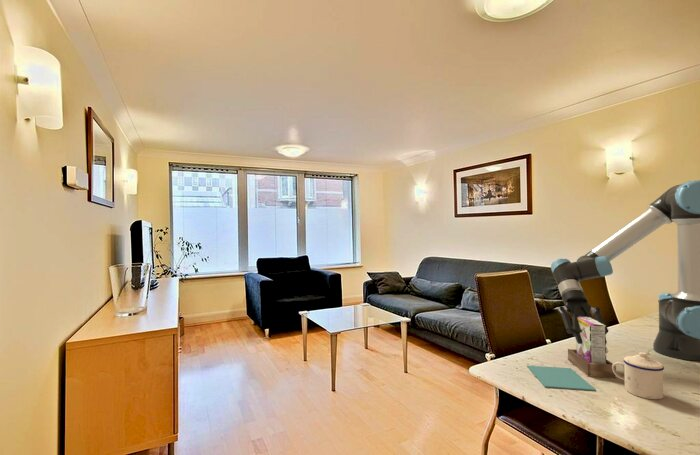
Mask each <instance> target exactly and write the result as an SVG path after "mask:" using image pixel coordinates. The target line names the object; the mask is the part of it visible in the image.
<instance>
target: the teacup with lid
mask: <svg viewBox="0 0 700 455" xmlns="http://www.w3.org/2000/svg"><path fill="white" fill-rule="evenodd" d="M618 365H619V366H623V367H624V369H623V370H624V376H623V375H621V374H619V373H618V371H617V368H616V369H615V366H618ZM664 369H665V367H664V365H663V364H662V363H661V362H659V361H657V360H654V359H653V358H652V357H650V356H648V353H647V352H642V351H640V352H638V354H635V355H628V356H625V357H624V358H623V362H621V361H615V362H613V365H612V370H613V373H614V374H615V375H616V378H618V379H620V380H623V381H624V390H626V391H627V392H628V393H630V394H631V395H634V396H636V397H640V398H642V399H648V400H662V399H663V398H664Z"/></svg>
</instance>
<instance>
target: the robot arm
mask: <svg viewBox="0 0 700 455" xmlns="http://www.w3.org/2000/svg"><path fill="white" fill-rule="evenodd" d="M672 223H674V224H676V230H677V232H676V233H677V234H676V236H677V237H676V238H677V239H676V241H677V242H676V243H677V248H676V249H677V251H676V252H677V292H675V293H670V292H669V293H668V292H661V293H659V295H658V299H657V303H658V331H657V334H656V336H655V339H654V341H653V343H652V344H653V348H652V349H653V350H654V352H656V353H658V354H661V355H664V356H666V357H667V356H668V357H670V358H675V359H681V360H687V361H694V362H696V361H700V179H699V180H688V181H686V182H683V183H681V184H677V185H674V186H672V187H670V188H669V189H667V190H666V191H664V192H663V193H662V194H661V195H660V196H659V197H657V198H656V199H655V200H654V201H652V202H651V203H650V204H649V205H647V209H646V210H645V211H644V212H642V213H641V214H640V215H638V216H637V217H635V218H634V219H633V220H631V221H630V222H628V223H627V224H626V225H624V226H623V227H621V228H620V229H619V230H617V231H616V232H614V233H613V234H612V235H611V236H609V237H608V238H606V239H605V240H604V241H602V242H601V243H599V244H598V245H597V246H595V247H593V249H591V250H590V251H588V252H587V253H586V254H584V255H581V256H579V257H578V258H577V259H576V261H573V262H571V261H570V259H567V258H558V259H555V260H554V261H552V263H551V265H550V269H551V274H552V276H553V278H554V280H555V282H556V286H557V288H558V291H559V294H560V297H561V299H562V301H563V304H564V306H559V308H558V311H557V312H558V313H559V314H560V315H561V318H562V322H563V324H564V327H565V330H566V333H567V334H568V335H572V336H573V337H574V338H575V341H577V343H578V344H581V347H582V350H583V352H584V354H587V353H588V352H589V348H588V345H587V343H586V340H585V338H584V335H583V333H579V322H578V319H577V317H578V316H580V317H581V316H582V317H591V318H593V319H594V320H596V321H598V322H600V323H602V324H604V325H606V322H605V320H604V318H603V316H602V313H601V308H600V307H597V306H596V307H594V306H593V307H592V306H591V305H590V304H589V303H588V299H587V296H586V294H585V292H584V290H583V287H582V285H581V283H580V281H585V280H586V281H587V280H591V279H595V278H596V279H597V278H604V277H607V276H611V275H612V274H613V273H614V269H613V267H612V264H611V261H613V260H614V259H616V258H618V257H619V256H620V255H622V254H623V253H624V252H626V251H627V250H629V249H630V248H632V247H633V246H634V245H635V246H636V244H637V243H639V242H641V241H642V240H643V239H645V238H646V237H647V236H649V235H650V234H652V233H653V232H655V231H656V230H658V229H659V228H661V227H662V226H663V225H665V224H667V225H668V224H669V225H670V224H672ZM568 313H569V314H570V315H571V319H572V322H571V320H570V317H569V314H568ZM593 316H594V317H593ZM608 332H609V329H608V326H607V325H606V335H607V334H608ZM607 343H608V342H607V340H606V344H607ZM608 353H609V350H608V347H607V346H606V355H607V354H608Z"/></svg>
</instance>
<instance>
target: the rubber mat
mask: <svg viewBox="0 0 700 455" xmlns="http://www.w3.org/2000/svg"><path fill="white" fill-rule="evenodd" d="M526 368H527V369H528V370H529V371H530V372H531V373H532V374H533V375H534V377H535V378H536V379H537V380H538V381H539V382H540V384H541V385H542V386H543V387H544V388H550V389H561V390H562V389H563V390H574V391H575V390H578V391H580V390H581V391H592V392H596V391H597V389H596V388H595V387H593V386H592V385H591V384H590V383H589V382H588V381H587V380H585V379H584V378H583V377H582V376H581V375H580V374H578V373H577V372H576V371H575V370H574V369H572V368H571V367H559V366H558V367H557V366H544V365H543V366H540V365H527V366H526Z"/></svg>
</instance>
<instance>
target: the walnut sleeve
mask: <svg viewBox="0 0 700 455" xmlns="http://www.w3.org/2000/svg"><path fill="white" fill-rule="evenodd" d="M567 361H568V362H570V363H571V364H572V365H573V366H575V367H576V368H577V369H579V370H580V371H581V372H582V373H583V374H584V375H586V376H587V377H595V378H597V377H598V378H609V379H610V378H611V379H616V378H617V376H616V375H615V374H614V373H613V370H612V365H613V364H614V362H611V361H610V360H608V359H607V358H606V364H596V363H588V362H587V361H586V360H584V359H583V358H582V357H580V356H579V355H578V354H577V351H576V349H575V348H573V349H572V348H568V349H567ZM616 366H617V365H616ZM616 366H615V369H616V370H617V367H616Z"/></svg>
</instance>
